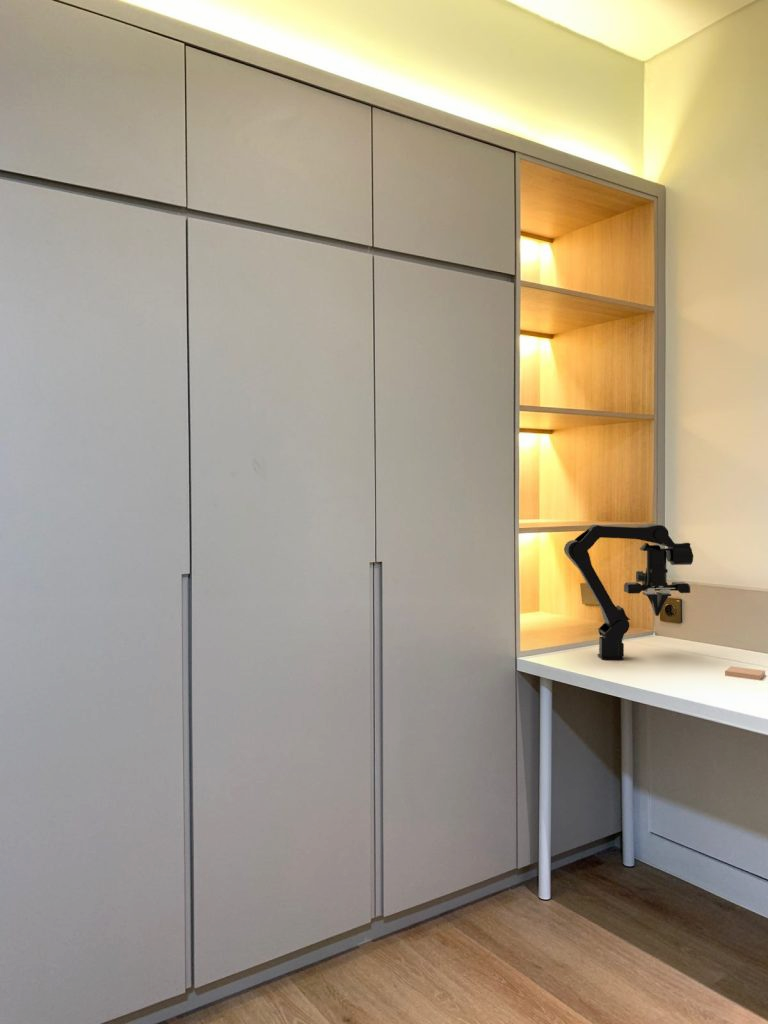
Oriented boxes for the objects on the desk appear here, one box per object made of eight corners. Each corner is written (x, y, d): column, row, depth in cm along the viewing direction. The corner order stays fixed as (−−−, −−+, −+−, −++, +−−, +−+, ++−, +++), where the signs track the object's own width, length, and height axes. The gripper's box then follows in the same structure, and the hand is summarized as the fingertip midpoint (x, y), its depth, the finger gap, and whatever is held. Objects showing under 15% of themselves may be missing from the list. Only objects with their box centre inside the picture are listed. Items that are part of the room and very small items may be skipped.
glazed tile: (725, 670, 217) (760, 675, 211) (730, 666, 222) (765, 670, 217) (724, 676, 217) (760, 681, 211) (730, 672, 222) (765, 676, 217)
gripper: (678, 562, 246) (678, 611, 246) (619, 562, 246) (619, 611, 247) (690, 565, 234) (691, 617, 235) (628, 566, 235) (628, 617, 236)
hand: (656, 615), depth 238 cm, fingers closed
